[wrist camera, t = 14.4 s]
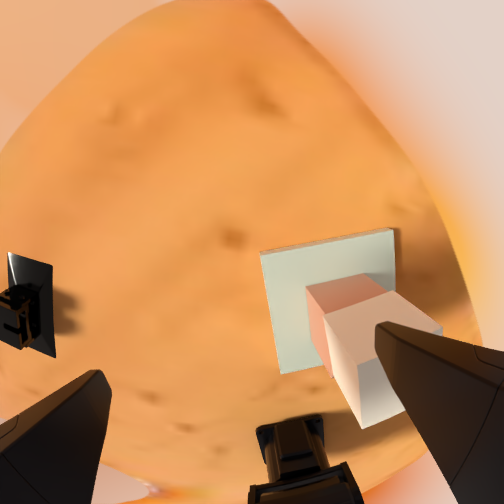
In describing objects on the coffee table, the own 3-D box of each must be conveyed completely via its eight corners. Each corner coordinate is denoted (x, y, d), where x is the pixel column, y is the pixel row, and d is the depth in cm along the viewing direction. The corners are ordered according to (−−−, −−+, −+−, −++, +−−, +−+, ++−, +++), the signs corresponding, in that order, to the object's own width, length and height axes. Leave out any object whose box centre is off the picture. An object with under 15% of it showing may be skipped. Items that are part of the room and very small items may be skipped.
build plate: (389, 339, 24) (394, 344, 23) (279, 367, 24) (281, 374, 23) (387, 227, 22) (393, 229, 21) (259, 252, 21) (260, 255, 20)
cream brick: (396, 350, 17) (436, 394, 13) (333, 375, 17) (362, 429, 12) (392, 290, 16) (442, 326, 11) (322, 315, 16) (357, 365, 11)
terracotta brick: (365, 326, 22) (394, 358, 18) (311, 340, 22) (331, 378, 17) (363, 273, 21) (396, 297, 16) (305, 286, 21) (327, 316, 16)
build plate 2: (67, 369, 24) (47, 397, 19) (13, 346, 23) (-10, 368, 18) (63, 248, 21) (32, 265, 16) (4, 231, 20) (-29, 243, 16)
